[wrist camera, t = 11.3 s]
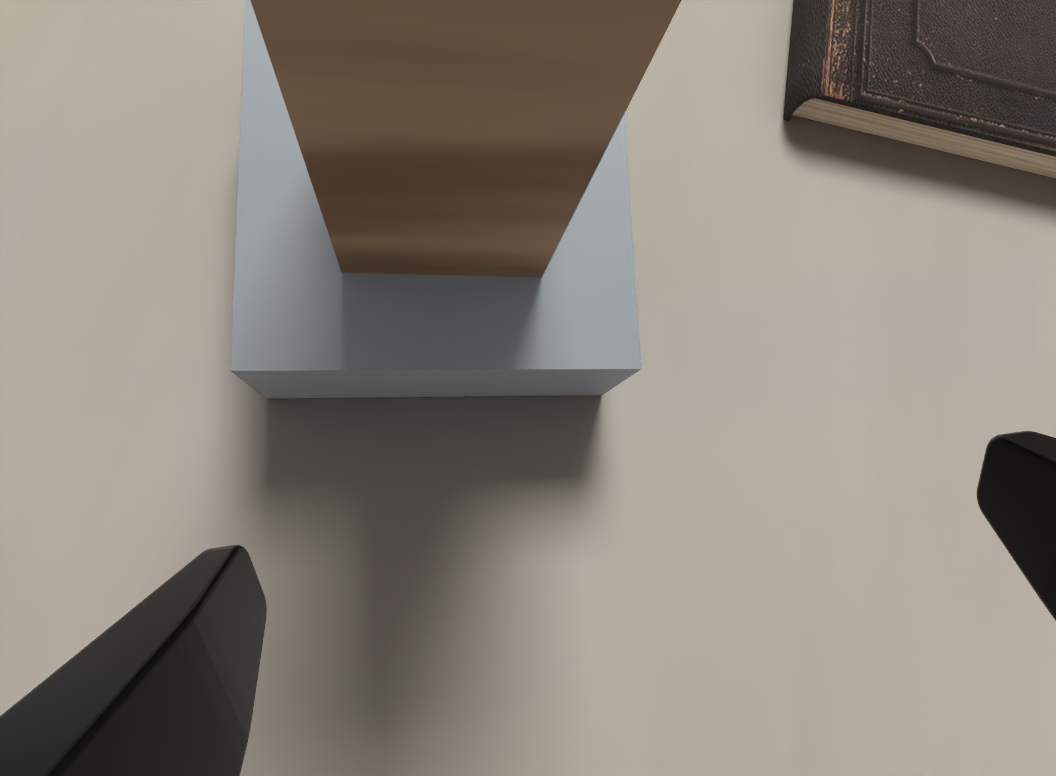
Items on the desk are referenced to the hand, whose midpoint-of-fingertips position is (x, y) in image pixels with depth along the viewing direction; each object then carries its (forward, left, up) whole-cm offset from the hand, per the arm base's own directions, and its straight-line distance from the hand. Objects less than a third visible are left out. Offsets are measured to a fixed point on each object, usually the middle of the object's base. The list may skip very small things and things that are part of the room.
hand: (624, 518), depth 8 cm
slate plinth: (+5, +8, -13) cm, 15 cm away
